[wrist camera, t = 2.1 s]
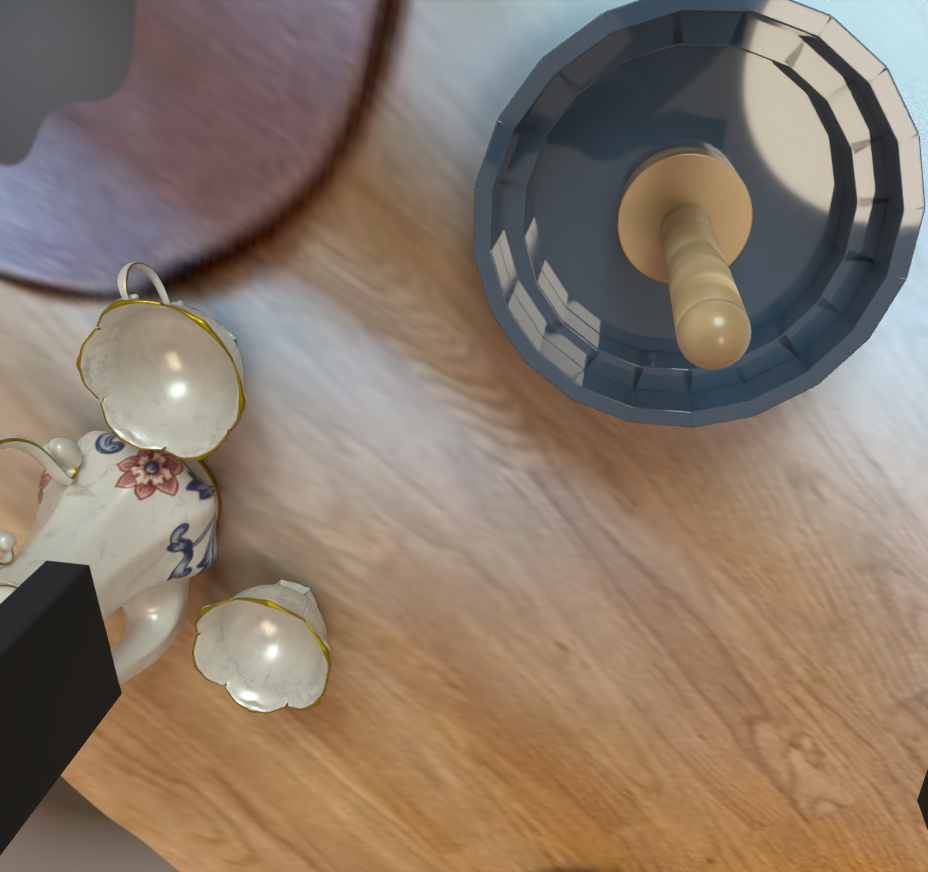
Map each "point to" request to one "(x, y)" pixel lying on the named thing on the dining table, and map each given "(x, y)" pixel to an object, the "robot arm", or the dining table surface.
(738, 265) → the dark grey round dish
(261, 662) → the chinaware
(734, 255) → the beech masher
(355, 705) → the dining table surface
